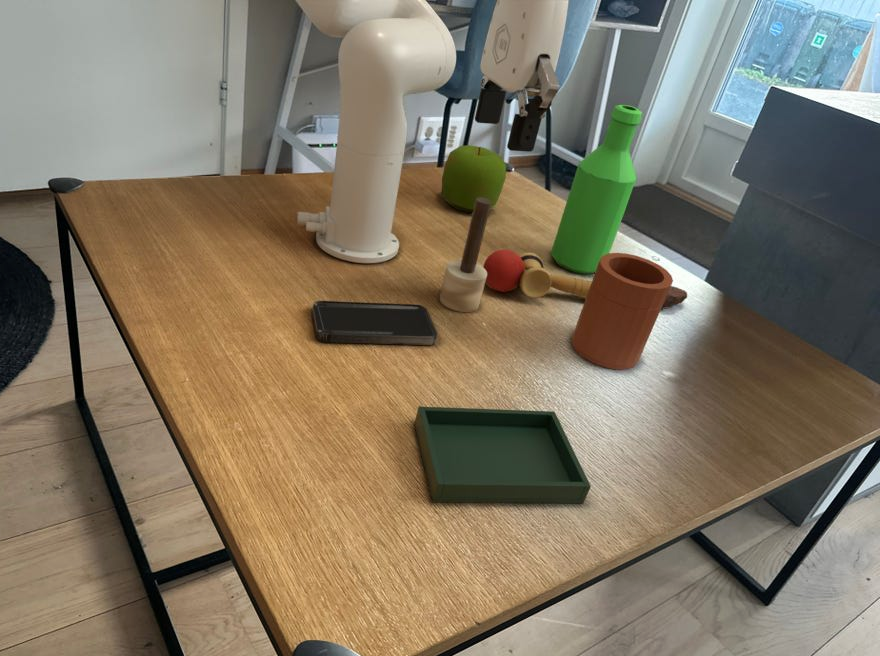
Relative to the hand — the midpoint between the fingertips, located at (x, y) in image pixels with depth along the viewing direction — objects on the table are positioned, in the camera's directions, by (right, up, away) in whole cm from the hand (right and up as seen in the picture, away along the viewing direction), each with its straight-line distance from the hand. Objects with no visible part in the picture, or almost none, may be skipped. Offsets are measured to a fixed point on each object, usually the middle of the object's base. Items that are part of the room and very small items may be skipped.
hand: (502, 135), depth 85 cm
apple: (0, +1, +43) cm, 43 cm away
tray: (-3, -37, -13) cm, 40 cm away
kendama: (+8, -17, +19) cm, 27 cm away
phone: (-16, -23, +4) cm, 28 cm away
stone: (+28, -18, +23) cm, 40 cm away
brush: (-4, -19, +13) cm, 23 cm away
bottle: (+16, -11, +30) cm, 36 cm away
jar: (+15, -26, +9) cm, 31 cm away
